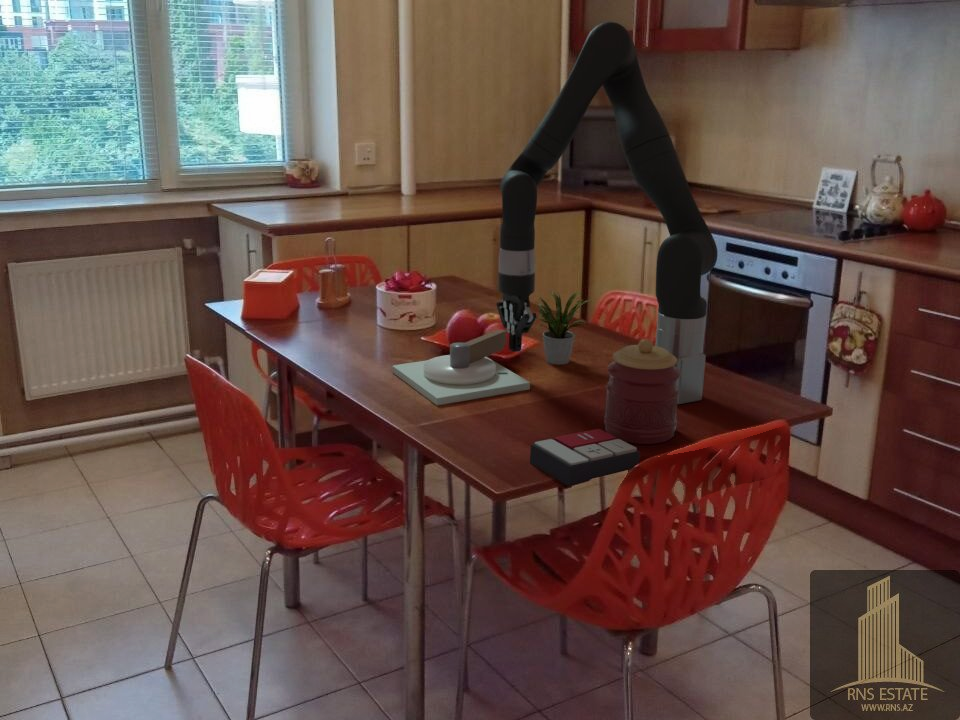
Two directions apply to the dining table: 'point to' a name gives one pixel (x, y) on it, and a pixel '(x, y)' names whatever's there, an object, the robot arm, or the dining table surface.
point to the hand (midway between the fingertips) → (515, 350)
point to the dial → (467, 361)
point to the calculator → (583, 456)
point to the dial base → (456, 393)
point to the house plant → (559, 329)
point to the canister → (642, 394)
